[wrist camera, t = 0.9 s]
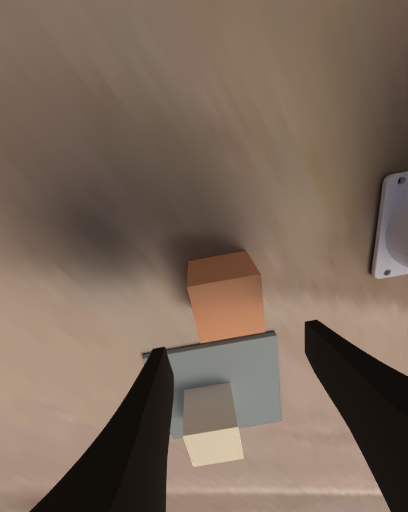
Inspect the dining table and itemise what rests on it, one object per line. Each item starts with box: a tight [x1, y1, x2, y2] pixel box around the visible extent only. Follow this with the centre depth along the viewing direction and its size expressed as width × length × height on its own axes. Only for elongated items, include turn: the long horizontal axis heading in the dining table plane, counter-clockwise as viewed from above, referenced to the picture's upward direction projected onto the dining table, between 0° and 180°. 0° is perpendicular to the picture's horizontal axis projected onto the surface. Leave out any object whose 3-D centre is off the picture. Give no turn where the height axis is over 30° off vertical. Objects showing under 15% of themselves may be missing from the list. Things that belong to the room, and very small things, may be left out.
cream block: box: [183, 382, 244, 467], centre depth 21 cm, size 4×4×4 cm
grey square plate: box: [143, 332, 282, 439], centre depth 23 cm, size 12×12×1 cm
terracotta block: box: [187, 251, 266, 343], centre depth 16 cm, size 4×4×4 cm
